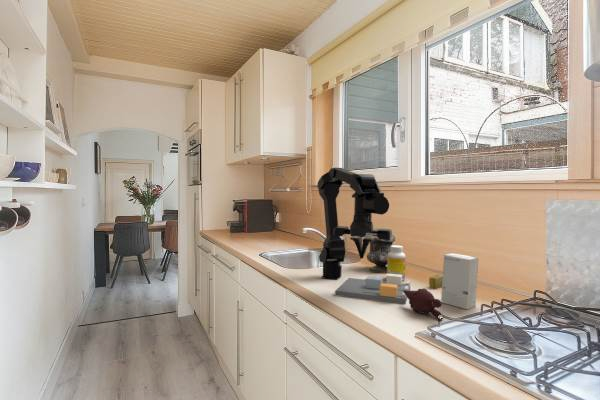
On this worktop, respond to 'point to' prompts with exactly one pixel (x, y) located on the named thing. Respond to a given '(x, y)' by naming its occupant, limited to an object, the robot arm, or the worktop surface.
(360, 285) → the panel
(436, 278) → the medication box
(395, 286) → the slider orange
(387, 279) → the slider white
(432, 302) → the beetroot
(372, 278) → the slider blue
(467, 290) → the skincare box
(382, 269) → the apothecary jar
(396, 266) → the supplement bottle
